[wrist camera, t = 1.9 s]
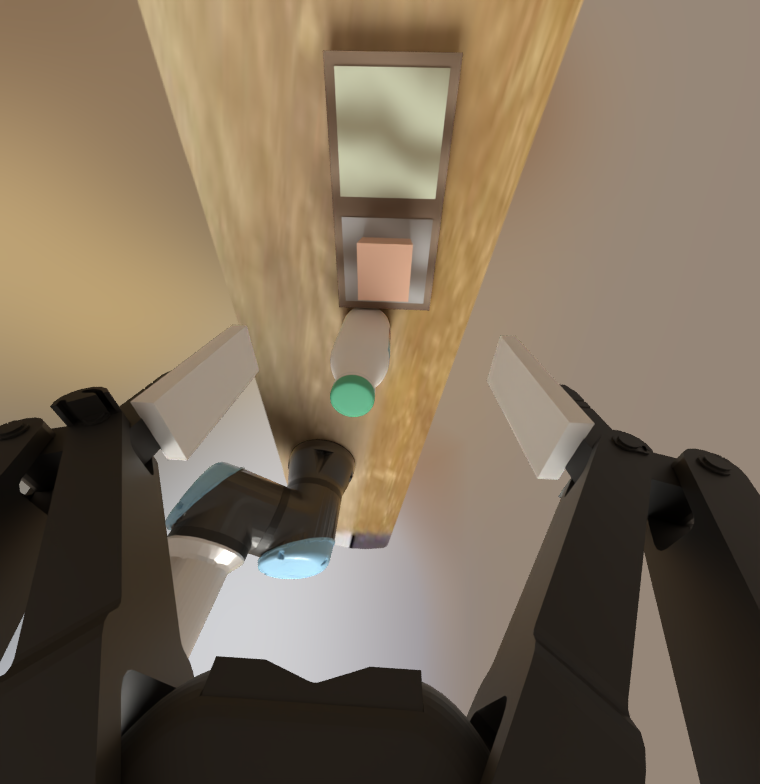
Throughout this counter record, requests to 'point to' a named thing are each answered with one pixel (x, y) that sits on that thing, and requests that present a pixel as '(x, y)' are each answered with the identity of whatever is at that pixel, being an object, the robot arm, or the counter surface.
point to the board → (389, 158)
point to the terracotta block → (384, 268)
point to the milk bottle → (359, 360)
